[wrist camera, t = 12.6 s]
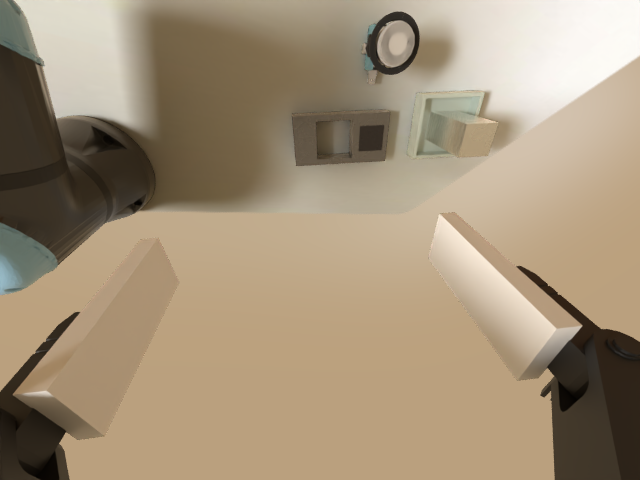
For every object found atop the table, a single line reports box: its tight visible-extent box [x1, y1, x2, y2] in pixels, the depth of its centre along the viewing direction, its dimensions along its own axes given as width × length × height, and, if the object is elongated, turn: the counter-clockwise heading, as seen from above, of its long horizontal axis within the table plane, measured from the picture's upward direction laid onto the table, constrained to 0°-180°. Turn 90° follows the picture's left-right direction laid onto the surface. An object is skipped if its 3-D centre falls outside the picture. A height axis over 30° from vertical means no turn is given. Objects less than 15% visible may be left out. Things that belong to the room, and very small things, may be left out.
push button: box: [362, 12, 420, 84], centre depth 31 cm, size 7×5×10 cm
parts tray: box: [407, 91, 485, 159], centre depth 40 cm, size 9×9×2 cm
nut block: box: [425, 110, 499, 157], centre depth 37 cm, size 4×4×10 cm
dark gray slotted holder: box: [292, 109, 390, 166], centre depth 40 cm, size 14×7×3 cm, turn 92°
